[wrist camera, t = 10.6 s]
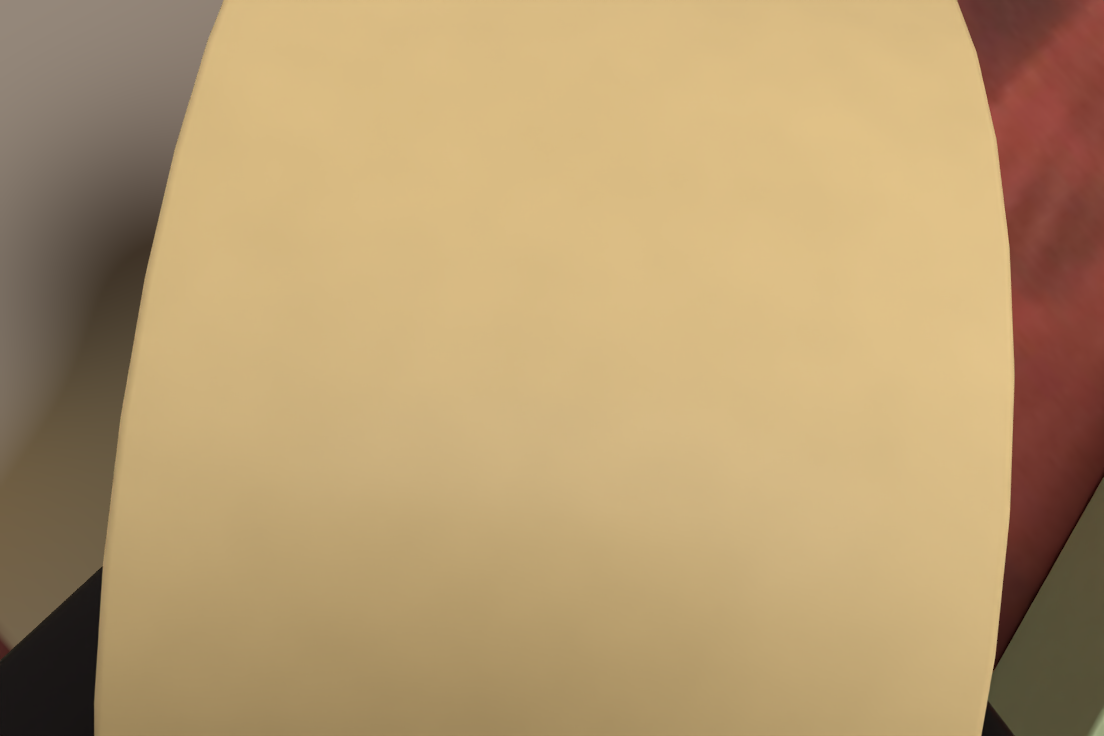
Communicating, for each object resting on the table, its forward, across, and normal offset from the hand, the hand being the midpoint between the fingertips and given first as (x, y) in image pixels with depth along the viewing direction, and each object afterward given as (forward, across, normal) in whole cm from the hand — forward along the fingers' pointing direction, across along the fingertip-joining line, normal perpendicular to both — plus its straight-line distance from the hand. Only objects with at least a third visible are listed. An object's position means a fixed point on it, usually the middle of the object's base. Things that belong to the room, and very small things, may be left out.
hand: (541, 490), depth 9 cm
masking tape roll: (+1, 0, 0) cm, 1 cm away
